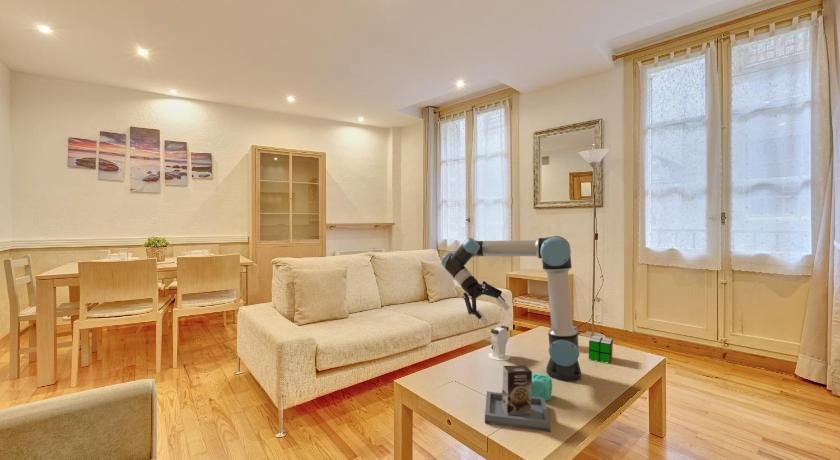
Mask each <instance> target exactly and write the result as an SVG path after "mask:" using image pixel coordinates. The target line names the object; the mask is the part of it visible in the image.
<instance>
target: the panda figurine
mask: <svg viewBox="0 0 840 460" xmlns="http://www.w3.org/2000/svg"><path fill="white" fill-rule="evenodd" d="M509 330H510V329H509V326H506V325H501V326H500V327H499V326H498V327H495V328H491V330H490V333H491V336H490V343H491V344H492V345H491V350H492V351H491V352H489V353H488V354H487V356H488V358H489V359H491V360H494V361H501V362H505V361H508V360H510V359H511V355H510V354H508V353H506V349H507V344H508V341H509V337H510V336H509Z"/></svg>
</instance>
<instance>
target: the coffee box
mask: <svg viewBox="0 0 840 460" xmlns="http://www.w3.org/2000/svg"><path fill="white" fill-rule="evenodd" d="M532 374H533V371H532V370H531V369H530V368H529V367H528V366H527V365H525V364H523V365H519V364H518V365H517V364H516V365H503V366H502V391H501V393H502V408H503V410H504V411H505V413H506V414H507V415H508V416H510V415H530V414H531V389H532Z"/></svg>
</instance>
